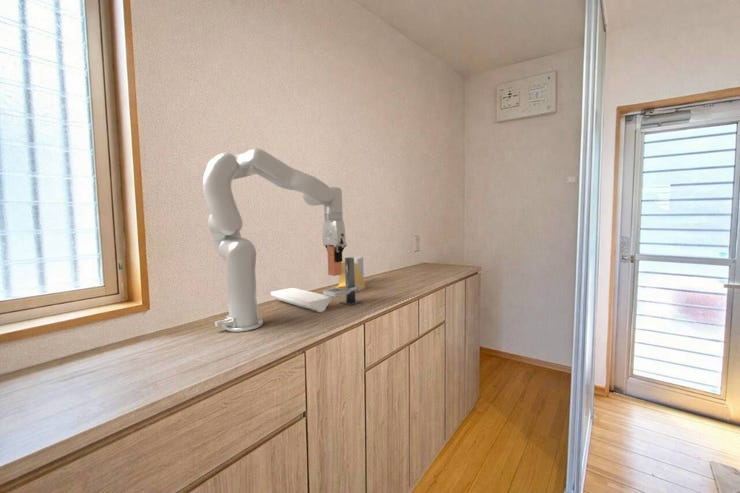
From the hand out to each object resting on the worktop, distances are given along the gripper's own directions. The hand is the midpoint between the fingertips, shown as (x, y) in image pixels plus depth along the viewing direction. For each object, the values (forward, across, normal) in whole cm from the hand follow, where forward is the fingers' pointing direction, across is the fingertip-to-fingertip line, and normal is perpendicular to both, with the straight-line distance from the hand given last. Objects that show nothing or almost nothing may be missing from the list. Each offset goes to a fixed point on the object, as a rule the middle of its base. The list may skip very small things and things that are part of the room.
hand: (335, 260), depth 142 cm
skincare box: (+20, -26, +36) cm, 49 cm away
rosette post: (+20, 0, +4) cm, 20 cm away
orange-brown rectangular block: (+6, 0, 0) cm, 6 cm away
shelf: (+20, -14, -8) cm, 26 cm away
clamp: (+20, -19, +23) cm, 36 cm away
